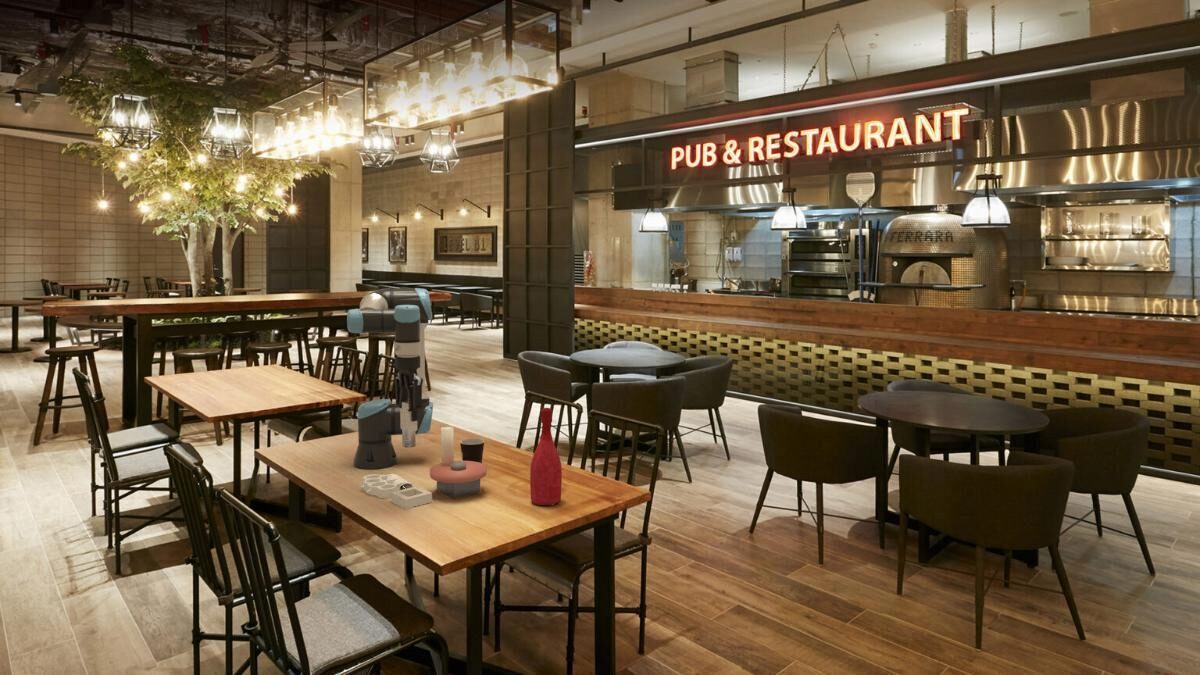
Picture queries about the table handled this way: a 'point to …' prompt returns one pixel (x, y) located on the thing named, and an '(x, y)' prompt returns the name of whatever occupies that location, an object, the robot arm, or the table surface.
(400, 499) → the eye block
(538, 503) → the wine bottle
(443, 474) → the handwheel
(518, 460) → the table surface
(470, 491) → the valve housing
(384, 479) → the knuckle duster
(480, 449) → the coffee mug
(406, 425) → the steel pin
